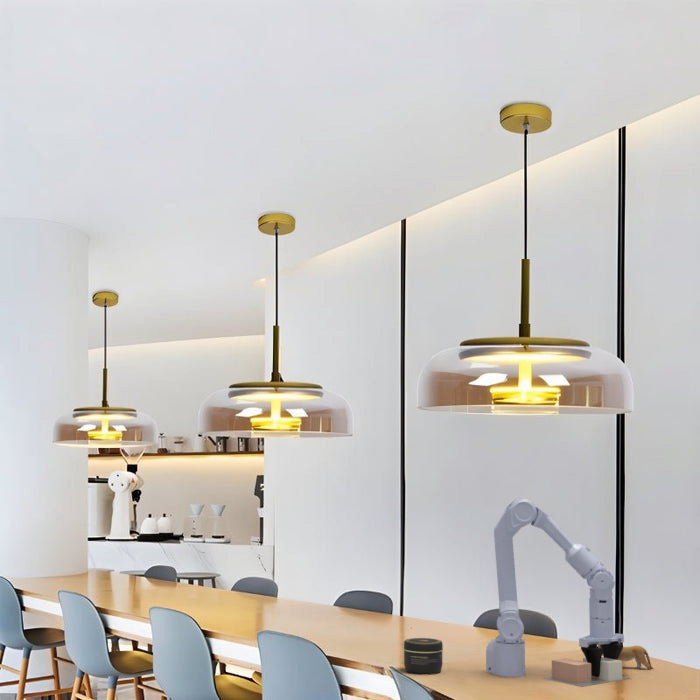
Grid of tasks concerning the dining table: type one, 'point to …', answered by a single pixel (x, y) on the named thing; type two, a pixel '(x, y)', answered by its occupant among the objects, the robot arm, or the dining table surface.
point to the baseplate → (593, 682)
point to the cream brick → (609, 669)
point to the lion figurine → (634, 656)
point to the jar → (423, 655)
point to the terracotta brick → (571, 670)
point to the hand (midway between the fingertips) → (602, 674)
